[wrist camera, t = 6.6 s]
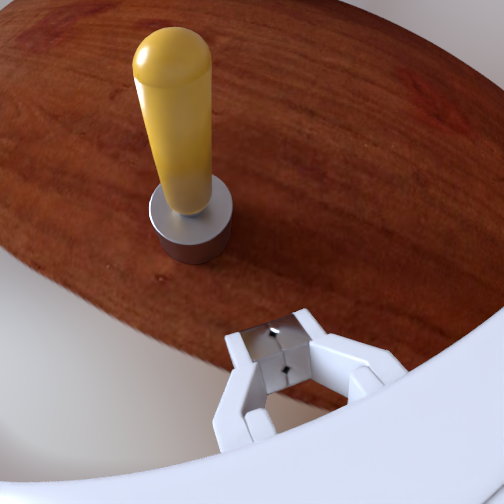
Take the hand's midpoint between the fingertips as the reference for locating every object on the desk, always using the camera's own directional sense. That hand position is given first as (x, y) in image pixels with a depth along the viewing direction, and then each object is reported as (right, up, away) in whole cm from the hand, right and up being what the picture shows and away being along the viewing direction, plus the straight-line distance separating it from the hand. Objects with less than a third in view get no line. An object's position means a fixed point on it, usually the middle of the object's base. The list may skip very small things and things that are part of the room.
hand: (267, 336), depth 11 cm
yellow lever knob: (-4, +4, +9) cm, 11 cm away
